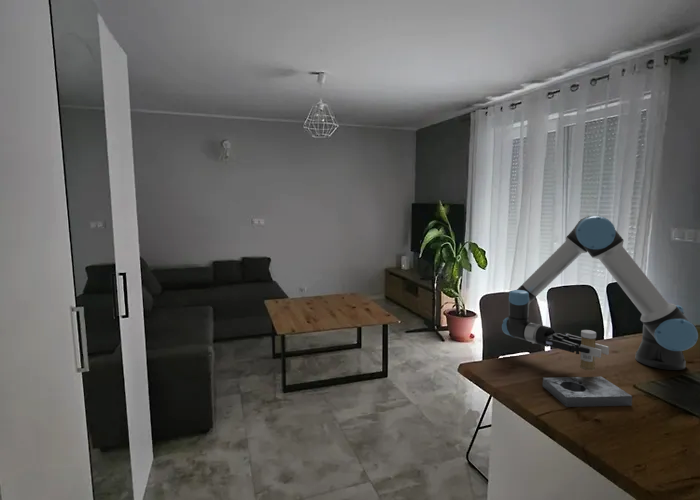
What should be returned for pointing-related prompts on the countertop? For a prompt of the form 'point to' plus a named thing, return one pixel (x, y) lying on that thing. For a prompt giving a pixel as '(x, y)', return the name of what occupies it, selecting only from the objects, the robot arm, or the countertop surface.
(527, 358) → the countertop surface
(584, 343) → the sprinkles bottle
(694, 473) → the countertop surface
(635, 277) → the robot arm
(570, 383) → the jig
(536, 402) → the countertop surface
